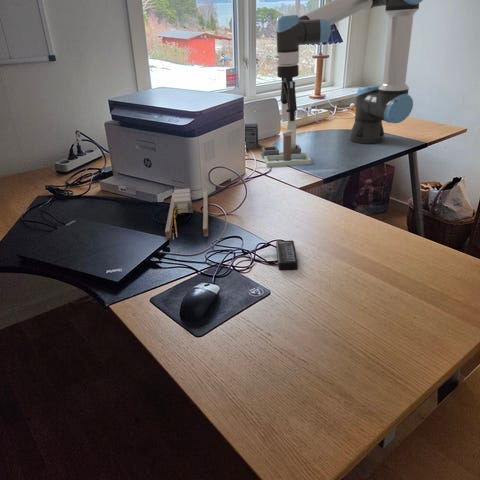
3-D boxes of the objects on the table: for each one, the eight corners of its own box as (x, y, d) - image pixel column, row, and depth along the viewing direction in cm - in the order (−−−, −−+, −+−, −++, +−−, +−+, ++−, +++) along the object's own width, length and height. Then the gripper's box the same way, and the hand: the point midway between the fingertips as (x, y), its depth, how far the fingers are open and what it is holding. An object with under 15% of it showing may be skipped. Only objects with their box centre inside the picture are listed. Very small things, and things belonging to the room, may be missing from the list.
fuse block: (298, 153, 177) (298, 144, 175) (302, 158, 171) (302, 149, 169) (260, 156, 177) (260, 146, 175) (262, 161, 170) (262, 151, 169)
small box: (258, 146, 190) (258, 122, 185) (257, 150, 184) (257, 126, 180) (235, 146, 191) (234, 123, 186) (233, 150, 186) (232, 126, 181)
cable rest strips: (207, 197, 140) (207, 190, 139) (208, 236, 115) (207, 228, 114) (173, 199, 139) (172, 192, 138) (166, 239, 115) (165, 231, 113)
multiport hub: (278, 271, 98) (278, 263, 97) (276, 248, 108) (276, 240, 107) (297, 271, 98) (297, 262, 97) (293, 248, 108) (293, 240, 107)
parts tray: (306, 159, 170) (306, 153, 169) (311, 166, 162) (311, 160, 161) (264, 162, 170) (264, 155, 168) (267, 169, 162) (266, 163, 160)
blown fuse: (290, 161, 167) (290, 130, 162) (292, 163, 164) (292, 132, 159) (282, 161, 167) (282, 131, 162) (283, 164, 164) (283, 133, 159)
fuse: (295, 153, 175) (295, 123, 169) (296, 155, 172) (297, 125, 166) (287, 153, 175) (287, 124, 169) (288, 155, 172) (288, 126, 166)
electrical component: (194, 247, 117) (193, 233, 113) (173, 249, 116) (170, 235, 113) (192, 199, 135) (191, 186, 132) (173, 201, 135) (171, 187, 131)
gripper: (272, 61, 160) (273, 118, 170) (282, 69, 138) (283, 134, 148) (292, 60, 160) (292, 117, 170) (305, 68, 138) (305, 132, 148)
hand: (288, 125), depth 159 cm, fingers open, 13 cm apart
